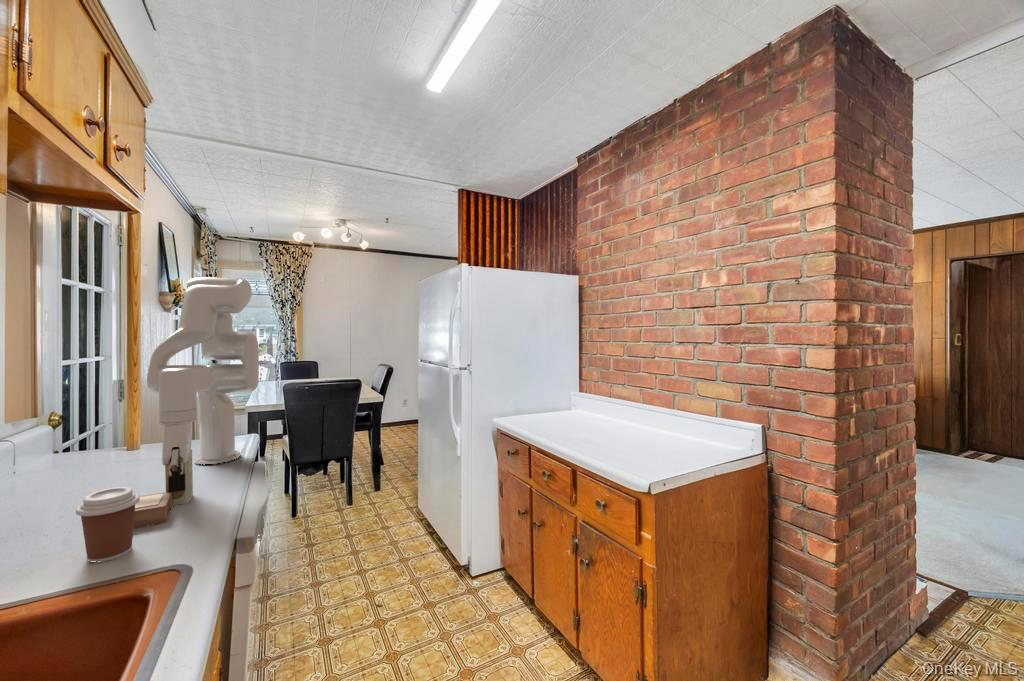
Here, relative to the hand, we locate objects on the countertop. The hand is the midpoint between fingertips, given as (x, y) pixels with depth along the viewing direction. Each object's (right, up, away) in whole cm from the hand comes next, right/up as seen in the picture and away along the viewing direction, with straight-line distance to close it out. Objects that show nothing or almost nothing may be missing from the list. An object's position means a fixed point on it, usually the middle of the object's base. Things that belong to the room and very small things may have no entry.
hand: (179, 485), depth 108 cm
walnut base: (-1, -4, -10) cm, 11 cm away
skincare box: (0, -4, 0) cm, 4 cm away
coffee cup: (+6, -5, -25) cm, 26 cm away
